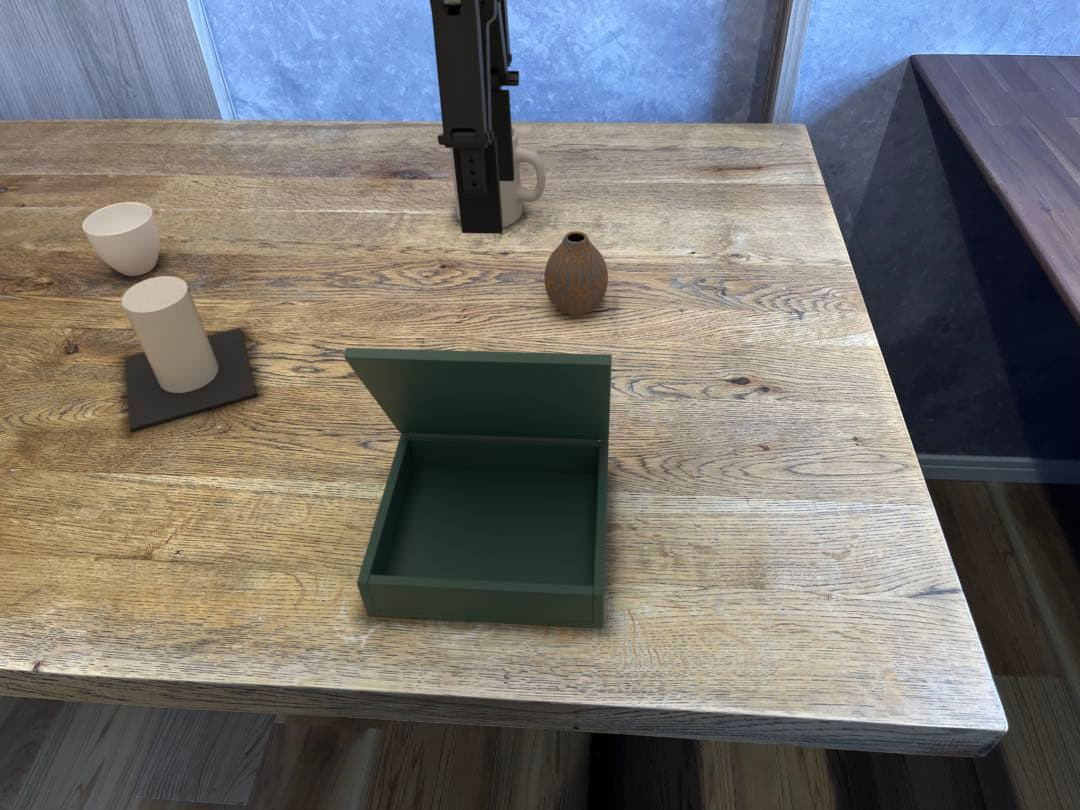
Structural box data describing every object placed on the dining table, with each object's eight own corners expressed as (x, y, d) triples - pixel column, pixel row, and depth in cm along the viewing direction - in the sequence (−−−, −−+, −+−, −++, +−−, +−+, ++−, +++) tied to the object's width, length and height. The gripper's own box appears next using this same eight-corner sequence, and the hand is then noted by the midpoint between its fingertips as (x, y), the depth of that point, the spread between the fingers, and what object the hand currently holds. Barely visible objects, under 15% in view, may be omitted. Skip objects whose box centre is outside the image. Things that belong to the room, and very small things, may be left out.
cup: (125, 292, 96) (103, 242, 92) (84, 264, 101) (60, 215, 97) (183, 263, 100) (164, 214, 96) (140, 238, 105) (120, 190, 101)
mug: (447, 226, 105) (437, 144, 98) (471, 194, 111) (463, 115, 103) (536, 238, 102) (532, 155, 95) (555, 205, 108) (553, 124, 101)
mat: (257, 396, 82) (256, 393, 81) (131, 431, 78) (129, 428, 78) (241, 330, 90) (240, 327, 90) (126, 360, 87) (124, 357, 86)
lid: (611, 365, 54) (611, 354, 54) (343, 358, 55) (345, 347, 55) (608, 440, 69) (609, 431, 69) (399, 433, 70) (400, 424, 71)
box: (603, 628, 61) (604, 595, 58) (366, 616, 62) (356, 582, 59) (607, 474, 72) (608, 439, 69) (408, 466, 74) (401, 432, 71)
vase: (570, 331, 88) (569, 262, 82) (533, 302, 92) (529, 234, 86) (619, 308, 90) (622, 239, 85) (581, 281, 95) (581, 213, 89)
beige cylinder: (179, 401, 81) (142, 320, 74) (147, 377, 84) (108, 297, 77) (230, 370, 84) (200, 289, 77) (197, 348, 87) (165, 268, 80)
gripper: (421, -215, 50) (459, 142, 66) (335, -162, 36) (410, 280, 51) (542, -220, 49) (552, 142, 65) (506, -167, 35) (529, 282, 51)
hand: (489, 202), depth 58 cm, fingers open, 7 cm apart
